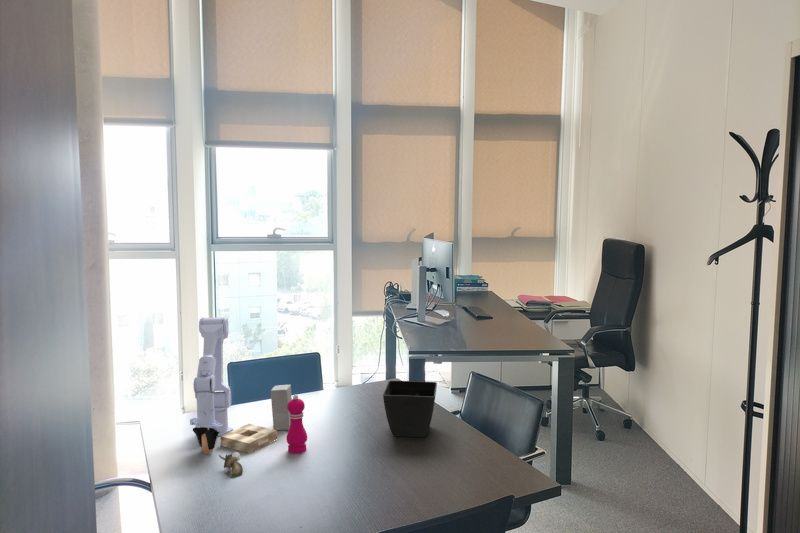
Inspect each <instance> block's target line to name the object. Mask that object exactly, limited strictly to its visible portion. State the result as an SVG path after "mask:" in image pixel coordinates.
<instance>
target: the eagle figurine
mask: <svg viewBox="0 0 800 533" xmlns="http://www.w3.org/2000/svg"><path fill="white" fill-rule="evenodd" d="M218 457H219V458H220V459H222V460H223V461H224V463H223V468H224V470H225V471H224V474H227V472H228V471H229V470H231V472H230V475H229V477H230V478H233V479H237V478H239V477H241V475H242V474H243V472H244V471H243V466H242V464H241V463H240V462H239V461H241V455H240V453H239V452H238V451H234V452H233V453H231V454H225V457H223V456H222V455H220V454H218Z"/></svg>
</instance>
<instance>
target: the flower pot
mask: <svg viewBox="0 0 800 533" xmlns="http://www.w3.org/2000/svg"><path fill="white" fill-rule="evenodd" d="M437 386H438V383H437V382H436V381H420V380H418V381H415V380H413V381H411V380H389V381H388V382H387V384H386V387H385V389H384V391H383V394H382V398H383V404H384V410H385V417H386V420H387V424H388V427H389V430H390V433H391V435H392V436H393V437H404V438H407V437H409V438H427V436H428V433H429V430H430V427H431V423H432V418H433V414H434V408H435V402H436V401H435V400H436V394H437Z"/></svg>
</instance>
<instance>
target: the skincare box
mask: <svg viewBox="0 0 800 533" xmlns="http://www.w3.org/2000/svg"><path fill="white" fill-rule="evenodd" d="M292 399H293V396H292V385H291V384H277V385H274V386H273V387H272V388H271V390H270V400H271V401H270V402H271V412H272V426H273V430H277V431H279V430H280V431H289V428H290V422H291V421H290V418H289V413H290V412H289V411H288V409H287V405H288V402H289V401H290V400H292Z"/></svg>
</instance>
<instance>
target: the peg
mask: <svg viewBox="0 0 800 533" xmlns="http://www.w3.org/2000/svg"><path fill="white" fill-rule="evenodd" d="M201 436H202V447H201V452H202V454H211V453H213V452H214V448H213V449H211V450H209V449H208V443H207V438H206V435H205V434H202V435H201Z"/></svg>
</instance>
